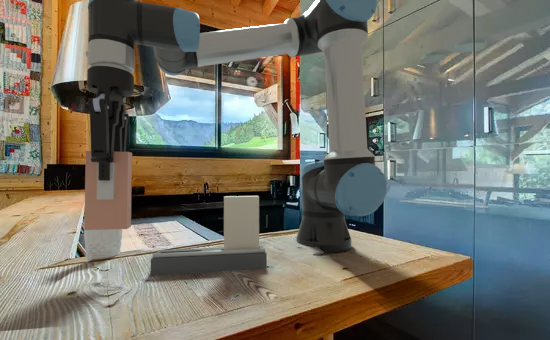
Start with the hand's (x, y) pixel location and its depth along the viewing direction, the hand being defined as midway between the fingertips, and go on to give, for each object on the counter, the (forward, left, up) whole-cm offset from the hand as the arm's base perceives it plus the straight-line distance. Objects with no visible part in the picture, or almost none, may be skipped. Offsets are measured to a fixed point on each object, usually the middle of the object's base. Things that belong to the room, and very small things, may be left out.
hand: (109, 198), depth 53 cm
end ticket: (0, 0, -6) cm, 6 cm away
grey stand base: (-18, -2, -16) cm, 24 cm away
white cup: (+7, -16, -16) cm, 24 cm away
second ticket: (-24, -2, -14) cm, 28 cm away
